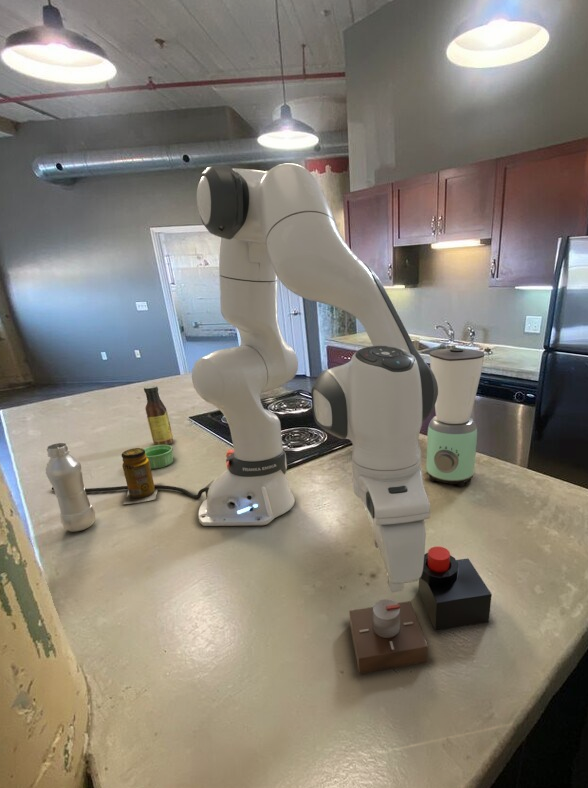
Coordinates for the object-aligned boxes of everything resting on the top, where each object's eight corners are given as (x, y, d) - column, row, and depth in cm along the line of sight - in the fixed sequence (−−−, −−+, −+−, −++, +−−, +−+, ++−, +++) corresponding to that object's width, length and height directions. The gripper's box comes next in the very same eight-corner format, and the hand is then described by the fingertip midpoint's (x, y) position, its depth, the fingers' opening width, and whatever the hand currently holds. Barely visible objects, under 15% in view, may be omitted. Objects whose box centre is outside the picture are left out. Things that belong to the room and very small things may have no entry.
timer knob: (376, 640, 60) (375, 620, 59) (370, 619, 64) (370, 599, 63) (402, 635, 61) (403, 615, 60) (396, 615, 65) (396, 595, 63)
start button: (431, 574, 67) (432, 561, 66) (424, 560, 71) (425, 547, 70) (452, 571, 68) (453, 558, 67) (444, 557, 71) (445, 545, 70)
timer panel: (359, 674, 59) (358, 657, 57) (349, 624, 67) (349, 609, 66) (427, 661, 60) (427, 645, 59) (409, 615, 69) (410, 600, 67)
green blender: (469, 494, 105) (480, 356, 93) (418, 486, 110) (421, 353, 97) (479, 464, 122) (489, 343, 109) (434, 458, 126) (439, 341, 114)
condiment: (158, 485, 113) (149, 444, 109) (155, 500, 106) (145, 457, 101) (128, 490, 111) (118, 448, 107) (123, 505, 103) (111, 461, 99)
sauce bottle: (177, 442, 142) (166, 385, 135) (160, 448, 137) (148, 390, 130) (166, 438, 146) (154, 383, 139) (149, 444, 141) (136, 387, 134)
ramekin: (135, 467, 124) (132, 453, 123) (160, 455, 132) (157, 442, 130) (158, 471, 121) (155, 458, 119) (181, 459, 129) (179, 446, 127)
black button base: (430, 632, 65) (432, 594, 63) (413, 589, 74) (414, 554, 72) (488, 622, 67) (492, 584, 64) (464, 581, 76) (467, 547, 73)
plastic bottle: (62, 538, 91) (34, 454, 84) (66, 523, 96) (41, 443, 89) (96, 530, 93) (72, 448, 86) (99, 516, 99) (76, 438, 92)
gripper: (350, 447, 62) (353, 526, 67) (378, 521, 44) (380, 623, 49) (391, 444, 64) (391, 521, 68) (436, 514, 45) (432, 614, 50)
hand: (387, 564), depth 58 cm, fingers open, 8 cm apart
